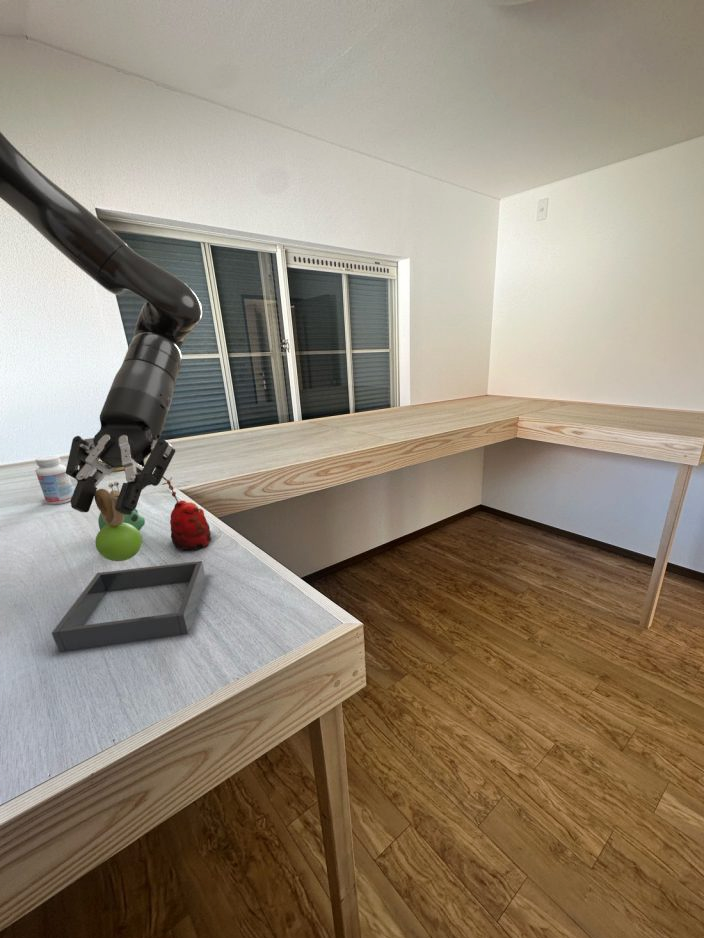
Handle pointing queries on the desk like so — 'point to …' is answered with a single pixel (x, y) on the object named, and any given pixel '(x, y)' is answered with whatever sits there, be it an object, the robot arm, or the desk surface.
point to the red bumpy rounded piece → (188, 524)
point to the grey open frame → (82, 636)
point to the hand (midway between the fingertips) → (101, 511)
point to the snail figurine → (115, 529)
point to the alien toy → (127, 520)
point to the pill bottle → (54, 480)
